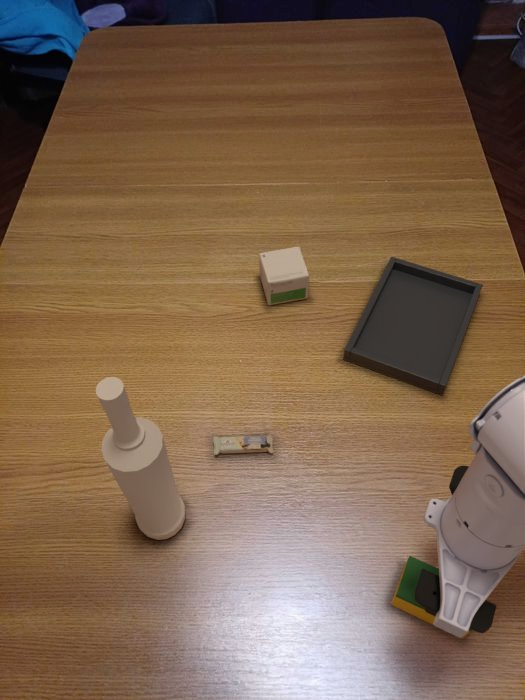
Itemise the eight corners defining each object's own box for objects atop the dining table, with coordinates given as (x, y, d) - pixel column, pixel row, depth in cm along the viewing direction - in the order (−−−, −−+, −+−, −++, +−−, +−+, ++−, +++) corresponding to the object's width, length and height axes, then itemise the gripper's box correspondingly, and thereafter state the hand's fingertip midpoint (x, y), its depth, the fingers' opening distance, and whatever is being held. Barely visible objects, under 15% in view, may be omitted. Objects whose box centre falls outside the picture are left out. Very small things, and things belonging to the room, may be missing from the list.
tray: (479, 295, 82) (483, 284, 81) (442, 395, 73) (445, 386, 71) (389, 266, 86) (391, 256, 84) (342, 359, 77) (344, 349, 75)
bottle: (141, 548, 63) (77, 427, 43) (134, 501, 66) (70, 368, 46) (191, 534, 64) (150, 409, 44) (181, 489, 67) (139, 352, 47)
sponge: (473, 598, 59) (483, 588, 57) (462, 638, 57) (472, 630, 54) (403, 566, 61) (409, 555, 58) (390, 604, 59) (396, 594, 56)
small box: (267, 307, 82) (267, 282, 78) (259, 276, 85) (258, 251, 81) (309, 300, 83) (310, 274, 79) (298, 270, 86) (299, 244, 82)
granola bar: (213, 457, 69) (212, 452, 68) (213, 438, 70) (213, 434, 69) (273, 455, 69) (273, 450, 68) (272, 436, 70) (272, 432, 69)
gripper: (467, 402, 47) (429, 480, 57) (407, 578, 39) (377, 630, 50) (563, 438, 45) (505, 512, 56) (521, 630, 37) (463, 672, 48)
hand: (450, 570), depth 52 cm, fingers open, 7 cm apart
